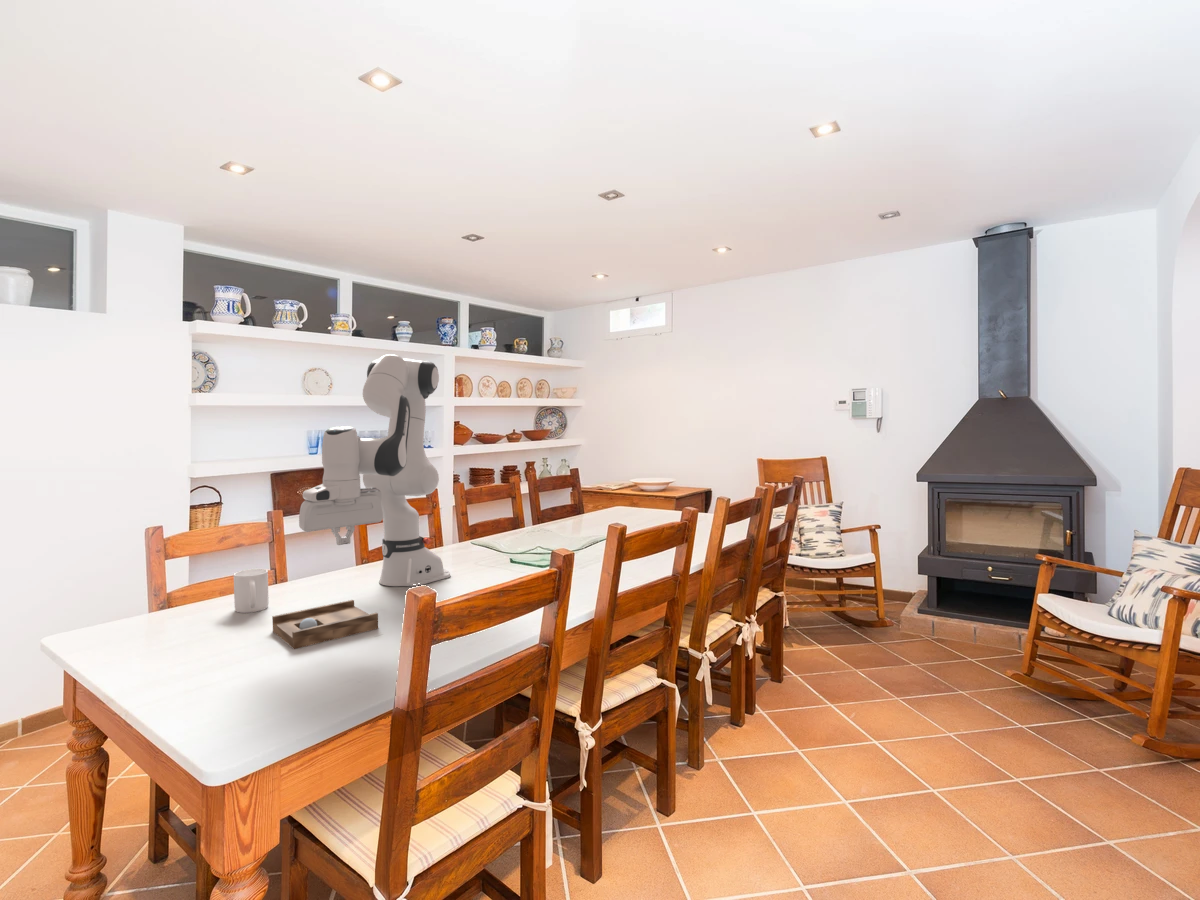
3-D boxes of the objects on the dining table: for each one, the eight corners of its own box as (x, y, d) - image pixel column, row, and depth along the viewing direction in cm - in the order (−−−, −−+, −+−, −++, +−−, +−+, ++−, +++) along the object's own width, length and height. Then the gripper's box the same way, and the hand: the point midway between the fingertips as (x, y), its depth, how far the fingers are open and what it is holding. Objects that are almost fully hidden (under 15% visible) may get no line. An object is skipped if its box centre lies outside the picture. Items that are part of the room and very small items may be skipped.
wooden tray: (352, 613, 168) (352, 599, 168) (378, 628, 156) (378, 613, 156) (272, 631, 154) (272, 616, 154) (294, 649, 142) (293, 632, 142)
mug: (270, 614, 168) (269, 576, 167) (235, 619, 163) (234, 580, 163) (267, 602, 178) (266, 567, 177) (234, 607, 173) (233, 571, 173)
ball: (307, 635, 154) (317, 620, 155) (313, 639, 151) (323, 624, 152) (293, 628, 152) (303, 613, 153) (298, 632, 149) (309, 617, 150)
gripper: (376, 485, 166) (377, 536, 167) (295, 493, 152) (297, 548, 153) (386, 487, 162) (387, 539, 163) (304, 495, 148) (306, 552, 149)
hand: (343, 544), depth 158 cm, fingers closed
